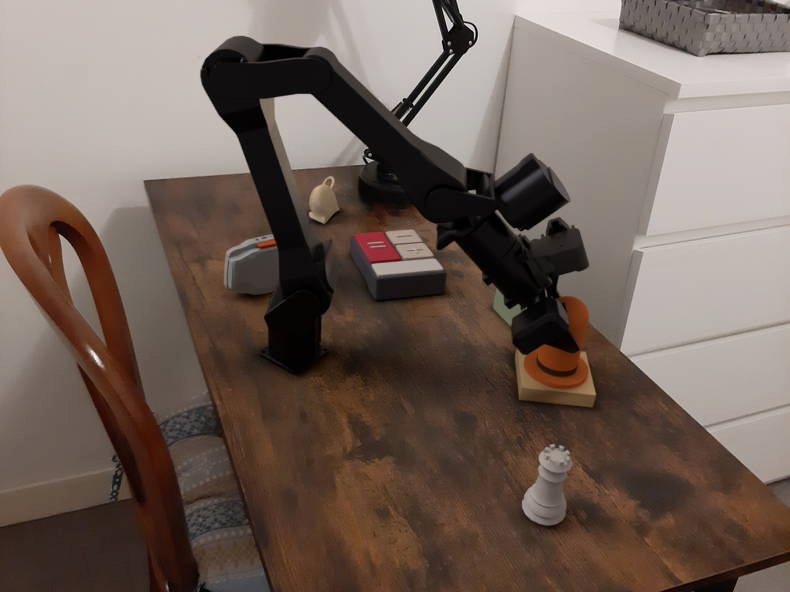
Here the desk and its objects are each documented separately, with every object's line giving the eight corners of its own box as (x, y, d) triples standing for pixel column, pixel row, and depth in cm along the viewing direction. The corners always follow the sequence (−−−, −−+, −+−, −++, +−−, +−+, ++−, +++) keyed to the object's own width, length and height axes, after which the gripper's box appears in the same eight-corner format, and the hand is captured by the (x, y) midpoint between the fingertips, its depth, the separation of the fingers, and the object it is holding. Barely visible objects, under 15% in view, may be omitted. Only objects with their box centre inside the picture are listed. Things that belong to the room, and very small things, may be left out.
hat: (526, 385, 92) (540, 313, 86) (521, 347, 98) (534, 278, 93) (592, 391, 91) (611, 321, 86) (582, 353, 98) (599, 285, 93)
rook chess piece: (559, 495, 79) (574, 438, 75) (569, 529, 75) (585, 470, 71) (517, 494, 79) (530, 436, 75) (525, 527, 75) (539, 469, 71)
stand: (519, 400, 92) (521, 387, 91) (514, 356, 100) (517, 344, 99) (592, 407, 92) (596, 395, 91) (582, 363, 100) (585, 351, 99)
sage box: (525, 342, 103) (531, 314, 101) (492, 308, 110) (497, 281, 107) (556, 336, 105) (562, 308, 102) (521, 302, 112) (526, 276, 109)
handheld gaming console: (312, 271, 115) (312, 223, 111) (321, 279, 113) (322, 232, 109) (222, 294, 108) (220, 244, 104) (231, 303, 106) (228, 253, 102)
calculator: (415, 226, 122) (448, 267, 110) (413, 250, 124) (445, 293, 112) (349, 231, 119) (376, 274, 107) (348, 256, 121) (374, 300, 109)
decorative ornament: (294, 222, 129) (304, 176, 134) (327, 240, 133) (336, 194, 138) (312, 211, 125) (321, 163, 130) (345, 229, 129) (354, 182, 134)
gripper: (564, 249, 76) (648, 349, 81) (546, 177, 92) (617, 265, 97) (476, 307, 80) (561, 399, 86) (473, 229, 96) (545, 311, 101)
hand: (573, 338), depth 92 cm, fingers closed on hat, 5 cm apart
